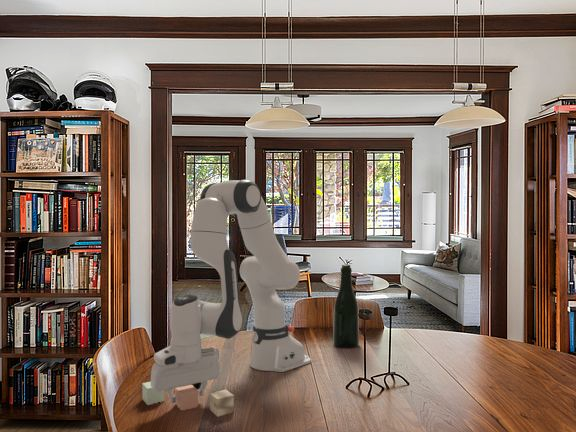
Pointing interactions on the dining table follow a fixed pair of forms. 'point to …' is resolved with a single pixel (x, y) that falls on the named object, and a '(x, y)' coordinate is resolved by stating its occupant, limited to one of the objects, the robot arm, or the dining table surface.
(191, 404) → the peach block
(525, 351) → the dining table surface
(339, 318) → the beer bottle
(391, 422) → the dining table surface
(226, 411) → the birch block
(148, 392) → the sage block
